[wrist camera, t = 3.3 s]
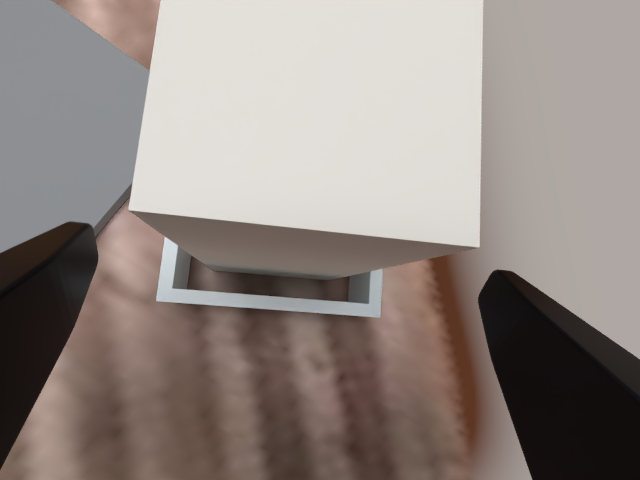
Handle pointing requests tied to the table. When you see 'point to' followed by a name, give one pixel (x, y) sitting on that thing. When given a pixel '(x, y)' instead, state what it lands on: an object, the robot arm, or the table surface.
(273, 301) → the sleeve
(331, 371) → the table surface
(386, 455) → the table surface
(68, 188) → the mat
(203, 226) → the tall block
